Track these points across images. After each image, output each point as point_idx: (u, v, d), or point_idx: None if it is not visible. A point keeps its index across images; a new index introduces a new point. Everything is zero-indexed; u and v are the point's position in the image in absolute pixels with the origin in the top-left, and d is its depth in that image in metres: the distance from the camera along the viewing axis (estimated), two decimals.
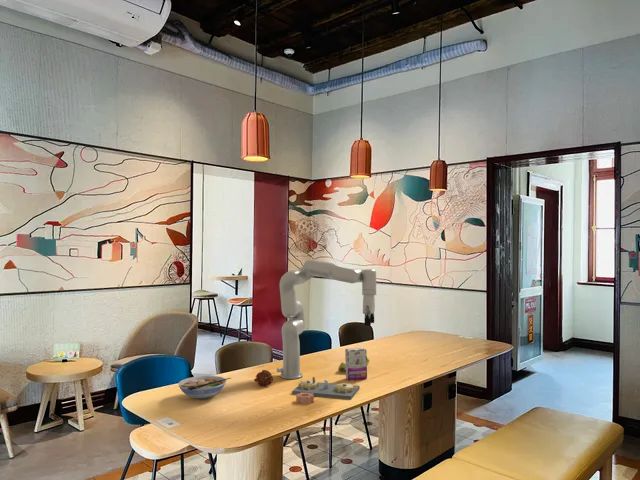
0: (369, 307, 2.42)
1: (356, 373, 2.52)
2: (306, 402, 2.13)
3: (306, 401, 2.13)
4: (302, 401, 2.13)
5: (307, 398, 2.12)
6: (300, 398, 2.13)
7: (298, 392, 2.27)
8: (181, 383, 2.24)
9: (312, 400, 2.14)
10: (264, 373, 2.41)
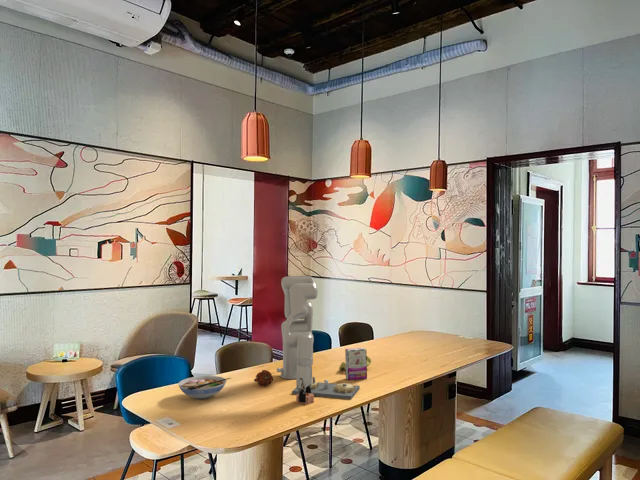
0: (303, 380, 2.11)
1: (356, 373, 2.52)
2: (306, 402, 2.13)
3: (306, 401, 2.13)
4: None
5: (307, 398, 2.12)
6: None
7: (298, 392, 2.27)
8: (181, 383, 2.24)
9: (312, 400, 2.14)
10: (264, 373, 2.41)
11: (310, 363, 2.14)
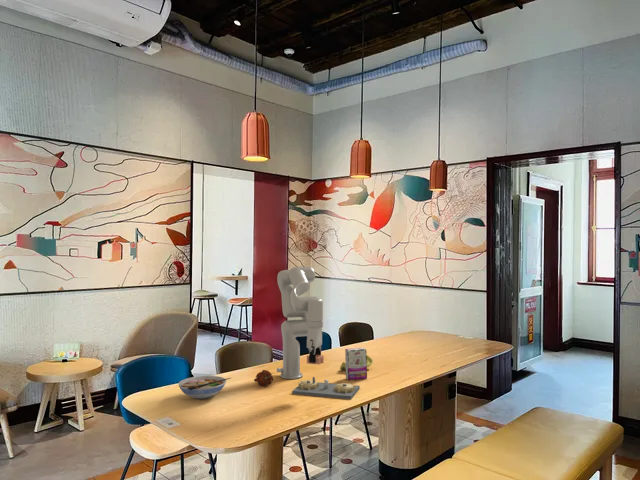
0: (313, 341, 2.19)
1: (356, 373, 2.52)
2: (316, 363, 2.21)
3: (316, 362, 2.21)
4: None
5: (317, 359, 2.20)
6: None
7: (298, 392, 2.27)
8: (181, 383, 2.24)
9: (322, 361, 2.22)
10: (264, 373, 2.41)
11: (320, 325, 2.22)
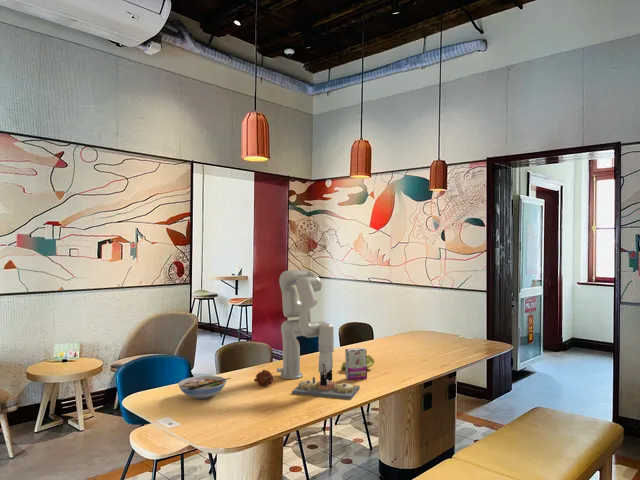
0: (325, 366, 2.27)
1: (356, 373, 2.52)
2: (328, 389, 2.28)
3: (328, 388, 2.28)
4: (324, 388, 2.28)
5: (329, 385, 2.28)
6: None
7: (298, 392, 2.27)
8: (181, 383, 2.24)
9: (333, 387, 2.30)
10: (264, 373, 2.41)
11: (331, 350, 2.30)
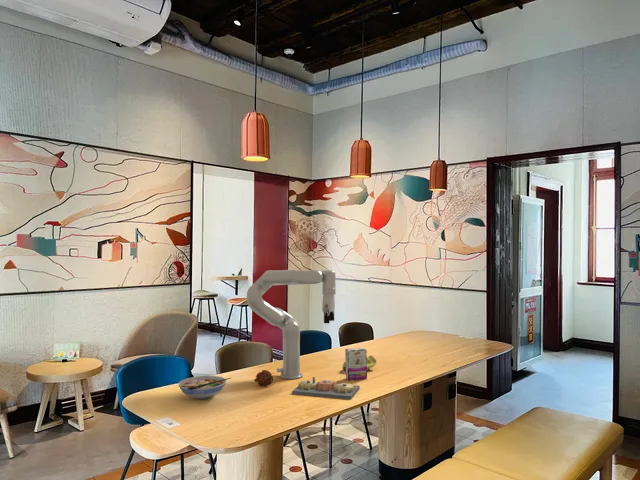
0: (328, 306, 2.57)
1: (356, 373, 2.52)
2: (328, 389, 2.28)
3: (328, 388, 2.28)
4: (324, 388, 2.28)
5: (329, 385, 2.28)
6: (322, 385, 2.29)
7: (298, 392, 2.27)
8: (181, 383, 2.24)
9: (333, 387, 2.30)
10: (264, 373, 2.41)
11: (333, 292, 2.60)
